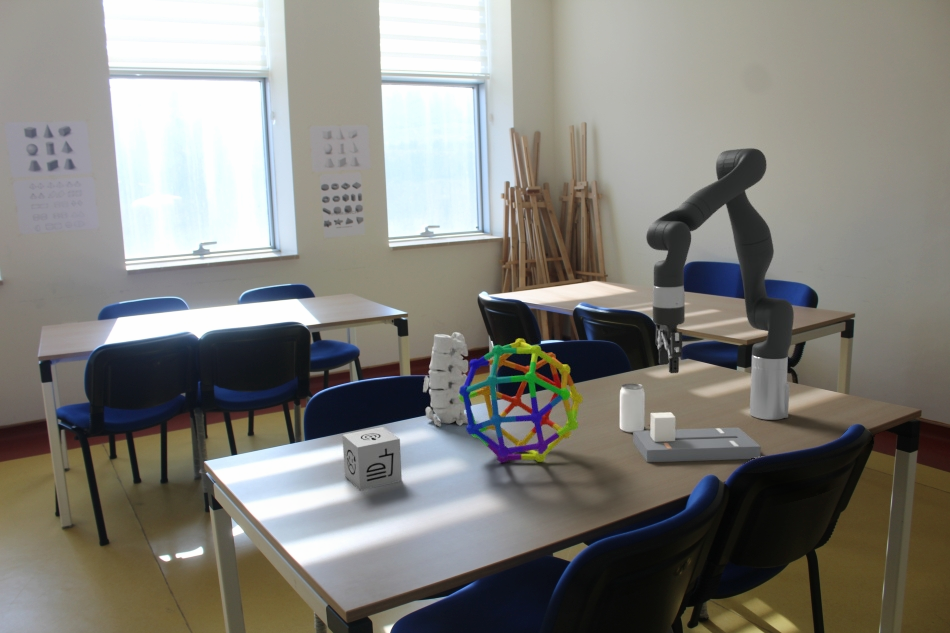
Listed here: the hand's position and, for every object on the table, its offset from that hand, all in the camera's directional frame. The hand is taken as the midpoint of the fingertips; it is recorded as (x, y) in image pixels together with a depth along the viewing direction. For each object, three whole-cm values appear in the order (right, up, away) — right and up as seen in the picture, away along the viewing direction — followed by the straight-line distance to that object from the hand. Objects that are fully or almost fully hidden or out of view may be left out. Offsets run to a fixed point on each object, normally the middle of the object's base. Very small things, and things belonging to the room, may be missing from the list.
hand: (668, 368), depth 180 cm
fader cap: (-2, -17, -1) cm, 17 cm away
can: (-6, -18, +16) cm, 25 cm away
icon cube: (-71, -25, -12) cm, 76 cm away
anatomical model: (-55, -17, +27) cm, 64 cm away
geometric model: (-37, -22, -3) cm, 43 cm away
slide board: (+6, -20, 0) cm, 21 cm away
